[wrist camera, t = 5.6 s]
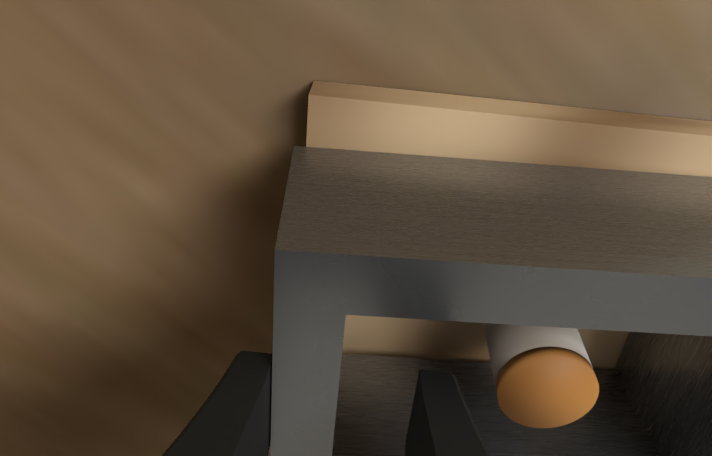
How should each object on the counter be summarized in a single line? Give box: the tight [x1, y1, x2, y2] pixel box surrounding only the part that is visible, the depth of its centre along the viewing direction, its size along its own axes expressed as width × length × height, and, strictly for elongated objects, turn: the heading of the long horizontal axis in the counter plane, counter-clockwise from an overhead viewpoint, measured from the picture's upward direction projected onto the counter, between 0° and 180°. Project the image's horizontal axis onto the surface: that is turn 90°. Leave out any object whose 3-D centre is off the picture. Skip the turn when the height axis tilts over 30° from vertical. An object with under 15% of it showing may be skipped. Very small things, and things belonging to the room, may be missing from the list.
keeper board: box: [306, 80, 712, 428], centre depth 14 cm, size 11×9×4 cm
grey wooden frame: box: [270, 146, 712, 456], centre depth 13 cm, size 10×7×4 cm
